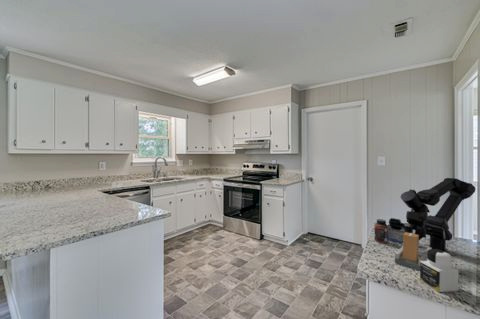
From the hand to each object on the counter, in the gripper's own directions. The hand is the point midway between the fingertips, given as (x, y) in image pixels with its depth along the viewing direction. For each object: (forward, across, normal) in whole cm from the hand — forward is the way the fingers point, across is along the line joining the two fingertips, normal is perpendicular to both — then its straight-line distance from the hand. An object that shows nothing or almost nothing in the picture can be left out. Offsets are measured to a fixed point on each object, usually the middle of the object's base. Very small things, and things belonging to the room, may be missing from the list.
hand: (411, 245), depth 92 cm
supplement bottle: (-6, -16, +16) cm, 23 cm away
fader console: (+3, 0, +8) cm, 8 cm away
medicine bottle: (+15, +10, -4) cm, 18 cm away
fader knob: (+5, 0, +2) cm, 5 cm away
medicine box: (-11, -11, +21) cm, 26 cm away
